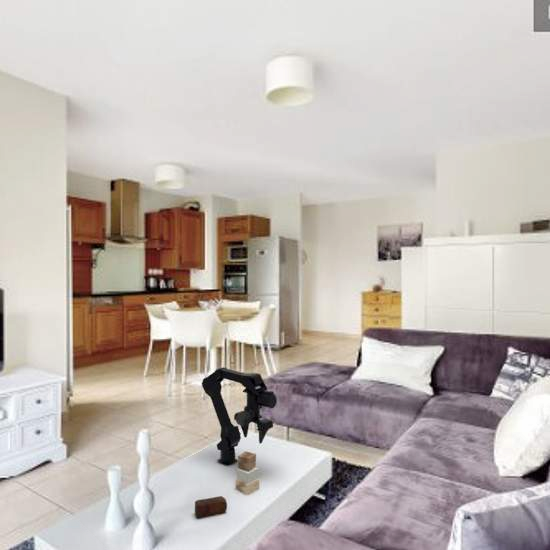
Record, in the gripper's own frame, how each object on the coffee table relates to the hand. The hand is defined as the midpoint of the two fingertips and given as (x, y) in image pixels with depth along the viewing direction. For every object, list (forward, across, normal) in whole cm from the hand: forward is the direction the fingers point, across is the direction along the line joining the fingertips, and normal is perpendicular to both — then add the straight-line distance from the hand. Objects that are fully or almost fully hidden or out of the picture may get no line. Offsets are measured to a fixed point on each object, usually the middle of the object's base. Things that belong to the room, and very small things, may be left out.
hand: (252, 440), depth 177 cm
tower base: (+13, +10, -12) cm, 20 cm away
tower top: (+9, +9, -12) cm, 18 cm away
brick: (+13, +12, -32) cm, 37 cm away
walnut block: (+5, +8, -11) cm, 15 cm away
